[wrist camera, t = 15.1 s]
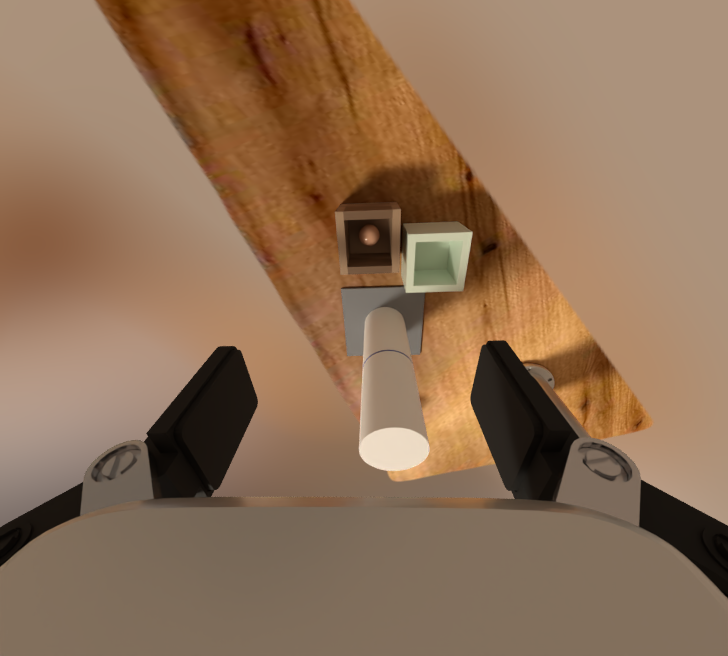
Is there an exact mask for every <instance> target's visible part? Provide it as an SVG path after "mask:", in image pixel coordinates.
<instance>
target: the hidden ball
mask: <svg viewBox="0 0 728 656" xmlns="http://www.w3.org/2000/svg"><path fill="white" fill-rule="evenodd" d="M379 237H380V233H379V230H378V229H377V227H376V226H374V225H371V224H367V225H364V226H363V227H362V228H361V229H360V231H359V239H360V241H361V243H362V244H363V245H365V246H373V245H375V244H376V243H377V242H378V240H379Z"/></svg>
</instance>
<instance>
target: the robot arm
mask: <svg viewBox="0 0 728 656" xmlns="http://www.w3.org/2000/svg"><path fill="white" fill-rule="evenodd" d="M554 385H555V380H554V377H553V375H552V374H551V373H550V371H549V370H548V369H547V368H545V367H543V366H541V365H538V364H533V363H525V364H522V362H521V361H520V360H519V358H518V357H517V355H516V354H515V353H514V351H513V350H512V349H511V347H510V346H509V345H508V343H507V342H506V341H488V342H487V344H486V345H483V346H482V348H481V352H480V356H479V361H478V365H477V370H476V374H475V379H474V383H473V388H472V392H471V404H472V407H473V410H474V412H475V415H476V417H477V419H478V422H479V424H480V427H481V429H482V432H483V434H484V437H485V439H486V442H487V444H488V446H489V449H490V451H491V454H492V456H493V459H494V461H495V464H496V466H497V468H498V471H499V473H500V476H501V478H502V481H503V483H504V485H505V487H506V489H507V490H508V491H512V493H513V496H514V498H515V499H494V498H493V499H492V498H427V497H211V496H212V493H213V492H214V490H217V489H218V488H219V487H220V485H221V483H222V480H223V478H224V476H225V474H226V472H227V470H228V468H229V466H230V464H231V461H232V459H233V457H234V455H235V453H236V451H237V448H238V446H239V444H240V442H241V440H242V438H243V436H244V433H245V431H246V429H247V427H248V425H249V423H250V421H251V418H252V416H253V414H254V412H255V410H256V408H257V404H258V400H257V396H256V393H255V390H254V387H253V384H252V381H251V379H250V376H249V373H248V370H247V367H246V364H245V361H244V358H243V356H242V353H241V351H240V350H237V348H236V347H234V346H220V347H218V348H217V349H216V350H215V351H214V352H213V353H212V355H211V356H210V357H209V358H208V360H207V361H206V362H205V363H204V364H203V365H202V367H201V368H200V369H199V370H198V372H197V373H196V374H195V375H194V376H193V378H192V379H191V380H190V381H189V382H188V384H187V385H186V386H185V387H184V388H183V390H182V391H181V392H180V394H179V395H178V396H177V397H176V398H175V399H174V401H173V402H172V403H171V404H170V406H169V407H168V408H167V409H166V410H165V411H164V413H163V414H162V415H161V416H160V418H159V419H158V420H157V421H156V422H155V424H154V425H153V426H152V427H151V429H150V430H149V431H148V432H147V435H148V437H147V439H146V440H145V441H144V442H142V441H140V440H131V441H126V442H123V443H121V444H118V445H116V446H114V447H112V448H110V449H108V450H107V451H106V452H104V453H103V454H101V455H100V456H99V457H98V458H97V459H96V460H95V461H94V462H93V463H92V464H91V465H90V466H89V468H88V469H87V471H86V473H85V476H84V481H83V482H82V483H81V484H79V485H77V486H75V487H73V488H71V489H69V490H68V491H66V492H64V493H62V494H60V495H58V496H57V497H55V498H53V499H51V500H49V501H47V502H46V503H44V504H42V505H40V506H38V507H36V508H34V509H33V510H31V511H29V512H27V513H25V514H23V515H21V516H20V517H18V518H16V519H14V520H12V521H10V522H8V523H7V524H5V525H3V526H2V527H0V656H728V526H727V525H725V524H724V523H722V522H720V521H718V520H716V519H714V518H712V517H710V516H708V515H706V514H705V513H703V512H701V511H699V510H697V509H695V508H693V507H691V506H690V505H688V504H686V503H684V502H682V501H680V500H678V499H676V498H674V497H673V496H671V495H669V494H667V493H665V492H663V491H661V490H659V489H658V488H655V487H654V486H652V485H650V484H648V483H646V482H644V481H642V480H641V477H640V472H639V470H638V468H637V466H636V465H635V463H634V462H633V461H632V460H631V459H630V458H629V457H628V456H627V455H626V454H625V453H623V452H622V451H621V450H619V449H618V448H616V447H615V446H613V445H611V444H609V443H607V442H604V441H602V440H599V439H595V438H591V437H590V436H589V434H588V433H587V432H586V431H585V429H584V428H583V427H582V425H581V424H580V423H579V422H578V420H577V419H576V418H575V417H574V415H573V414H572V413H571V412H570V410H569V409H568V408H567V406H566V405H565V404H564V403H563V401H562V400H561V399H560V398H559V396H558V395H557V394H556V393H555V391H554V390H553V388H554Z"/></svg>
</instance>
